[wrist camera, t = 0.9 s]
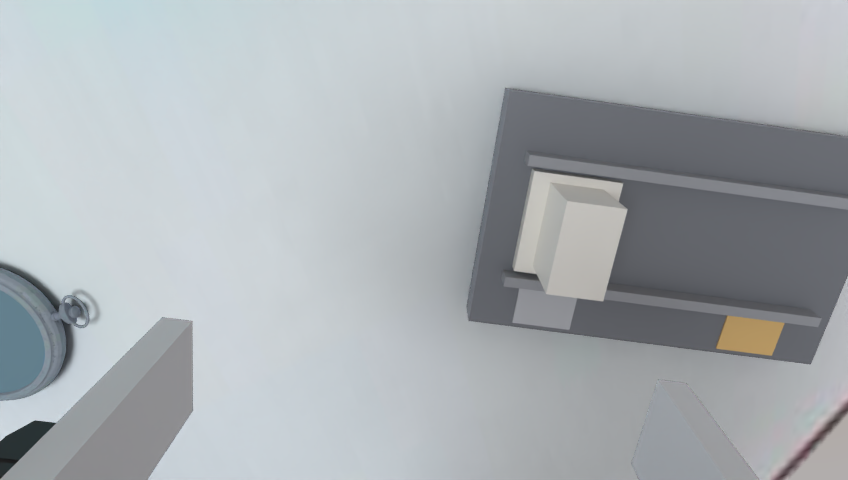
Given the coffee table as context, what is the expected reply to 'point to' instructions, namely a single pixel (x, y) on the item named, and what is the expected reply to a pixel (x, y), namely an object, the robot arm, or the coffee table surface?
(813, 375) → the coffee table surface
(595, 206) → the switch tab
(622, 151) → the switch panel
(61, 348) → the pocket watch
